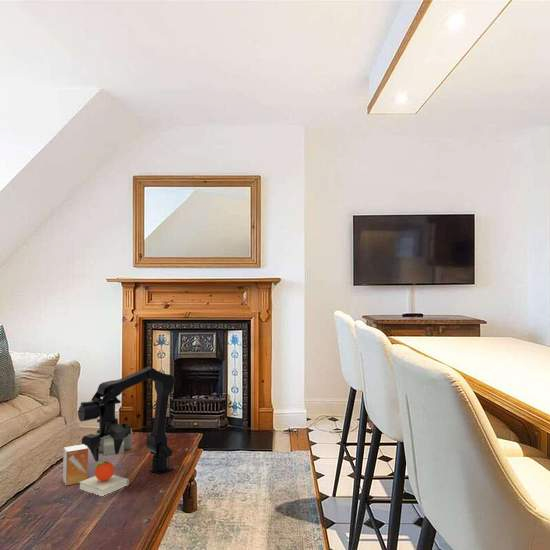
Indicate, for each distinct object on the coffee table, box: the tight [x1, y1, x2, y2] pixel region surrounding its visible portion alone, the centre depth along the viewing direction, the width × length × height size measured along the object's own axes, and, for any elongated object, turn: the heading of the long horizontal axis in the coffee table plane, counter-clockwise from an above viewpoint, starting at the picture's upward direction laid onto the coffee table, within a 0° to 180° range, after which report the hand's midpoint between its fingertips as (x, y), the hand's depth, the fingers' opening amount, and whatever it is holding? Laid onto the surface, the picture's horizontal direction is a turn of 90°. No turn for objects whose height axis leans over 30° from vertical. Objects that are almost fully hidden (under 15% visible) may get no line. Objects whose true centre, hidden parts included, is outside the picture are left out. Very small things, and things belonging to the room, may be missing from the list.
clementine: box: [92, 460, 115, 481], centre depth 182 cm, size 8×7×7 cm
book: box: [79, 473, 130, 497], centre depth 182 cm, size 12×13×3 cm
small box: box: [62, 443, 89, 486], centre depth 189 cm, size 8×6×13 cm
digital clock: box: [95, 428, 133, 456], centre depth 223 cm, size 16×9×11 cm, turn 95°
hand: (107, 457), depth 183 cm, fingers open, 9 cm apart
